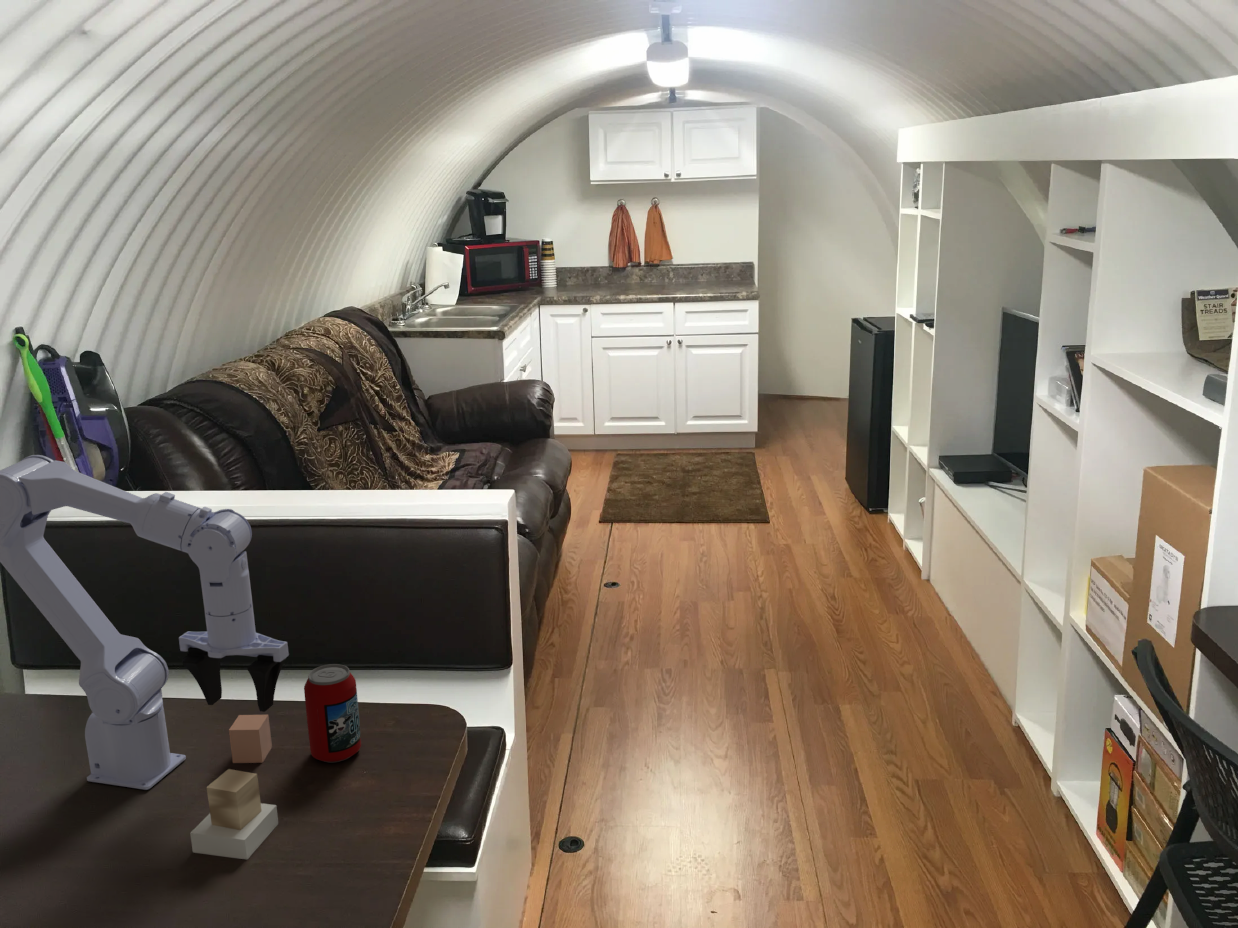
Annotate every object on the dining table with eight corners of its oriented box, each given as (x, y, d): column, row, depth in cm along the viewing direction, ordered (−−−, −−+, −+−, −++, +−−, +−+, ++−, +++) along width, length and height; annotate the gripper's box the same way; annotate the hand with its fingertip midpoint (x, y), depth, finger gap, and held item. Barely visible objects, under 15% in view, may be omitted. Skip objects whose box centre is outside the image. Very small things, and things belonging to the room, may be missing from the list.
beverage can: (348, 768, 138) (341, 686, 135) (301, 763, 140) (293, 682, 136) (370, 742, 145) (363, 663, 141) (325, 737, 146) (317, 659, 143)
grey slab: (193, 855, 122) (190, 832, 121) (226, 820, 128) (224, 798, 127) (247, 862, 120) (244, 839, 119) (278, 826, 127) (276, 804, 126)
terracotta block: (232, 763, 140) (228, 729, 139) (242, 747, 144) (239, 714, 142) (262, 762, 140) (258, 729, 139) (271, 746, 144) (268, 714, 142)
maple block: (211, 824, 122) (206, 786, 121) (233, 805, 126) (228, 768, 125) (240, 829, 121) (235, 792, 120) (261, 810, 125) (257, 773, 123)
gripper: (158, 614, 129) (172, 713, 133) (261, 625, 126) (273, 726, 130) (193, 593, 136) (206, 687, 140) (293, 603, 132) (303, 699, 136)
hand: (240, 704), depth 135 cm, fingers open, 7 cm apart
